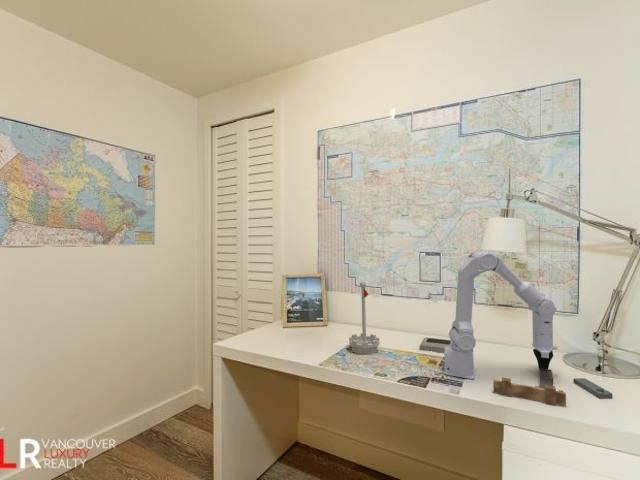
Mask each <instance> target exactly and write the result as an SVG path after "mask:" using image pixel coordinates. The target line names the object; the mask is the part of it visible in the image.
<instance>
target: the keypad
mask: <svg viewBox="0 0 640 480" xmlns="http://www.w3.org/2000/svg"><path fill="white" fill-rule="evenodd" d="M451 344H452V340H451V339H443V338H435V337H427V336H426V337H424V338H423V339H422V341H421V343H420V345H419V350H420V351H426V352H431V351H432V352H433V353H439V354H440V353H441V354H444V352H445V347H446V346H451Z"/></svg>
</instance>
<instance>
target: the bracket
mask: <svg viewBox="0 0 640 480" xmlns="http://www.w3.org/2000/svg"><path fill="white" fill-rule="evenodd" d="M572 381H573V384H574V385H576V386H578V387H579V388H581V389H583V390H585V391H586V392H588V393H589V394H590V395H592V396H594V397H596V398H598V399H600V400H601V399H602V400H605V399H607V400H608V399H609V400H612V399H614V397H613V392H610V391H609V390H607V389H605V388H604V387H601V386H600V385H598V384H596V383H594V382H592V381H591V380H588V378H586V377H584V378H583V377H581V378H578V377H577V378H573V380H572Z"/></svg>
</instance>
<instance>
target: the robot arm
mask: <svg viewBox="0 0 640 480" xmlns="http://www.w3.org/2000/svg"><path fill="white" fill-rule="evenodd" d="M490 271H492V272H495V273H497V274H498V275H499V276H501V278H503V279H504V280H505V281H507V282H508V283H509V284H510V285H511V286H512V287H513V291H514V292H513V293H514V294H515V295H516V296H518V298H520V299H521V300H522V301H523V302H524V303H525V304H526V305H527V307H528V309H529V310H530V311H531V312H532V316H531V317H532V318H531V319H532V320H531V321H532V322H531V323H532V344H531V346H532V347H533V349H532V351H533V352H532V353H533V355H534V357H535V358H536V361H537V365H538V366H537V367H538V369H539V368H543V369H550V363H551V361H552V360H553V358H554V352H553V351H555V350H556V351H557V350H558V346H556V345H554V338H553V337H554V331H553V329H554V327H553V326H554V325H553V324H554V323H553V320H554V315H555V314H556V312H557V310H558V309H557V307H556V306H555V303H554V302H553V301H552V300H550V299H548V298H546V297H545V296H546V294H544V293H542V292H540V291H539V290H538V289H537V288H536V287H535V286H536V285H535V284H534V283H533V282H529V281H527V280H526V281H524V280H522V279H521V278H520V277H519V276H518V275H517V274H515V272H514V271H513V270H512V269H511V268H510V267H509V266H508V265H506V263H505V262H504V261H503V260H502V259H501V258H499V257H498V256H496V254H495V253H493V252H491V251H482V250H474V251H473V252H471V253H470V254H468V255H466V259H465V260H464V262H463V263H462V264H461V266H460V268H459V269H458V272H457V273H458V275H457V286H456V289H457V291H456V301H455V303H456V304H455V316H454V317H455V319H454V320H453V321H452V323H451V328H450V330H449V333H448V337H449V340H452V344H451V346H446V347H445V352H444V353H443V358H444V359H443V360H444V363H443V365H444V366H443V367H444V375H447V376H452V377H458V378H463V379H469V380H475V375H476V372H477V370H476V369H474V366H475V365H474V349H475V347H476V344H477V343H476V339H475V336H474V328H473V325H472V319H473V318H472V316H473V305H474V304H473V303H474V289H475V288H474V285H475V278H477V277H478V276H480V275H482V273H486V272H490Z"/></svg>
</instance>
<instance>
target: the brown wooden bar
mask: <svg viewBox="0 0 640 480" xmlns="http://www.w3.org/2000/svg"><path fill="white" fill-rule="evenodd" d="M492 384H493V385H492V387H493V388H492V389H493V394H499V395H501V396H506V397H510V398H512V397H514V398H519V399H526V400H530V401H535V402H541V403H545V404H546V405H552V406H559V407H560V406H561V407H567V393H566V392H564V390H561V389H559V390H557V388H556V386H554V385H553V386H550V385H545V389H543V388H540V386H539V385H538V386H537V385H535V386H530V385H525V384H519V383H514V382H512V379H511V378H507V377H501V380H497V379H493V381H492Z"/></svg>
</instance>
